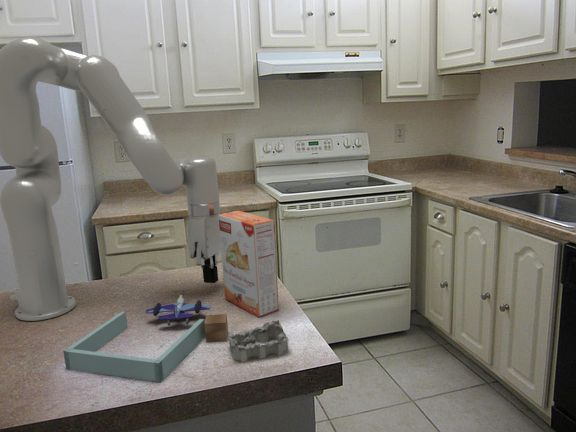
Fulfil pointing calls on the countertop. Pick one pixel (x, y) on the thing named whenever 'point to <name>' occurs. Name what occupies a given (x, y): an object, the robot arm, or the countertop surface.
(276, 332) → the egg carton
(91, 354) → the green u-shaped frame
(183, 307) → the toy airplane
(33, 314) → the robot arm
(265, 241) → the cracker box
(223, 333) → the walnut block
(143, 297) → the countertop surface
